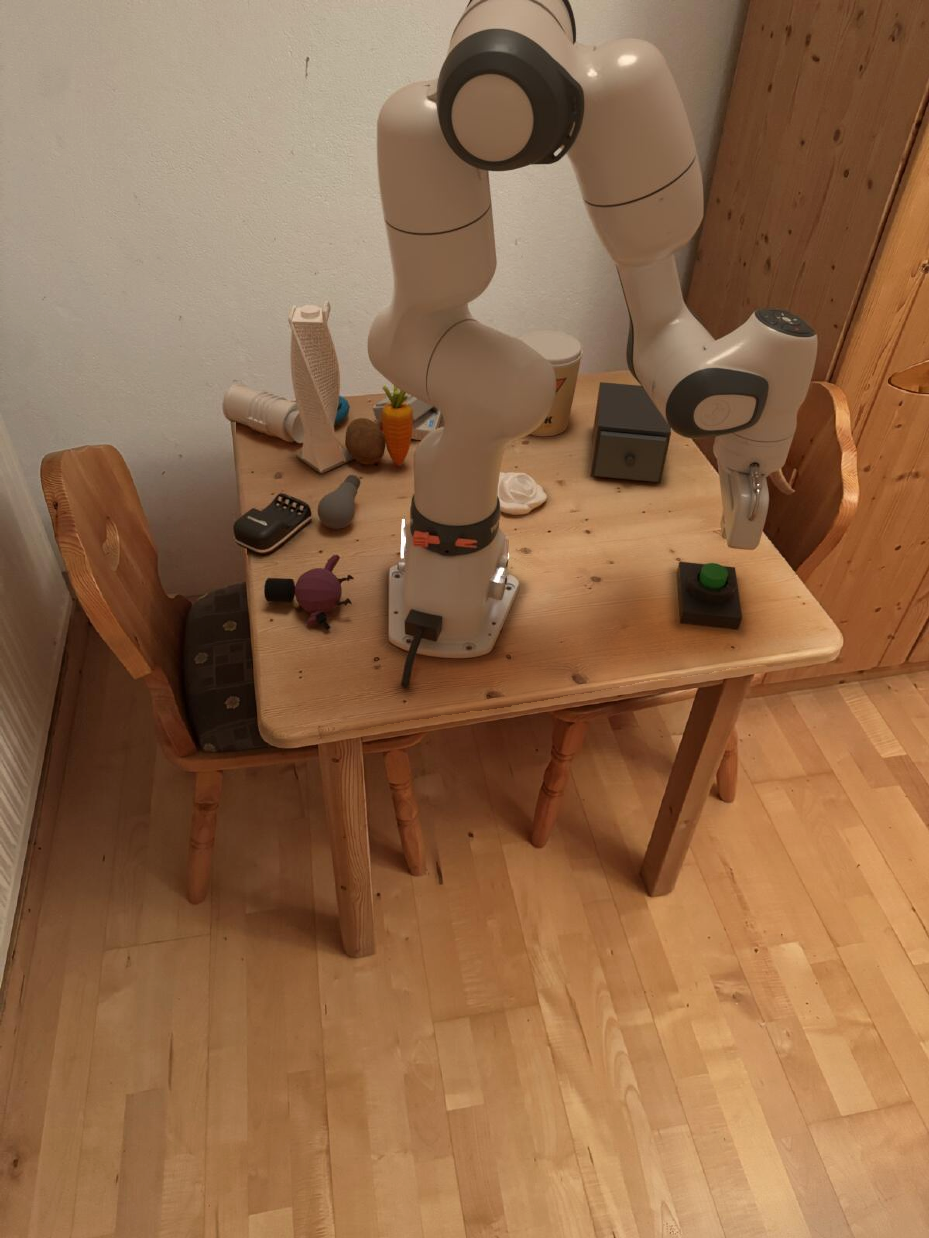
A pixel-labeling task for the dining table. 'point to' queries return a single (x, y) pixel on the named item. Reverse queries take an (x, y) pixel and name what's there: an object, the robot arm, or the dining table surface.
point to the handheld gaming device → (413, 402)
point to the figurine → (310, 591)
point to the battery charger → (271, 524)
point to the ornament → (342, 410)
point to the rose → (519, 493)
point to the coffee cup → (557, 374)
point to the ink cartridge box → (426, 423)
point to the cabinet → (627, 416)
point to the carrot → (397, 425)
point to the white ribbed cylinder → (263, 413)
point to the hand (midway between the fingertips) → (727, 532)
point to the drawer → (630, 455)
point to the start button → (713, 576)
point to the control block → (707, 599)
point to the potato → (365, 441)
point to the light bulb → (339, 504)
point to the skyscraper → (316, 386)
